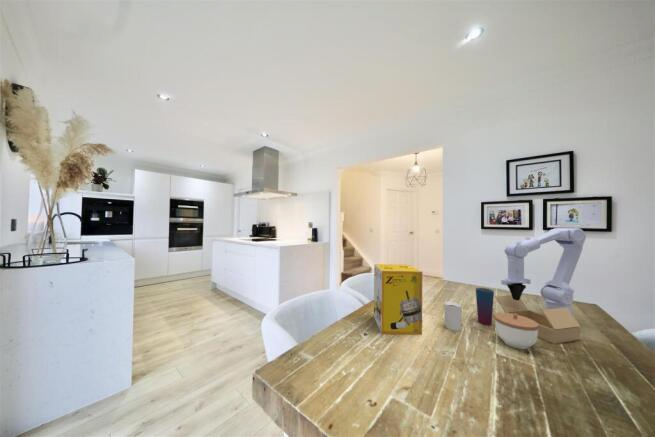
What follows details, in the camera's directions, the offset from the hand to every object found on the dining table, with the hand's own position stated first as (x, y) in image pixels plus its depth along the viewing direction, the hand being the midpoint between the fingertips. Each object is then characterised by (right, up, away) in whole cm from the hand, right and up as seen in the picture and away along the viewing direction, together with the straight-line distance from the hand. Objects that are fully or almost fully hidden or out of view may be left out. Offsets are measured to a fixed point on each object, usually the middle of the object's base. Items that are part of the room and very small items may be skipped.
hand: (516, 299), depth 103 cm
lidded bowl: (-17, -9, -20) cm, 28 cm away
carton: (+2, -10, -9) cm, 14 cm away
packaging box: (-57, -9, -6) cm, 58 cm away
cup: (-16, -10, -2) cm, 19 cm away
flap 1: (-1, -2, +2) cm, 3 cm away
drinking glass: (-33, -10, -7) cm, 36 cm away
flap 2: (+4, -1, -16) cm, 16 cm away
